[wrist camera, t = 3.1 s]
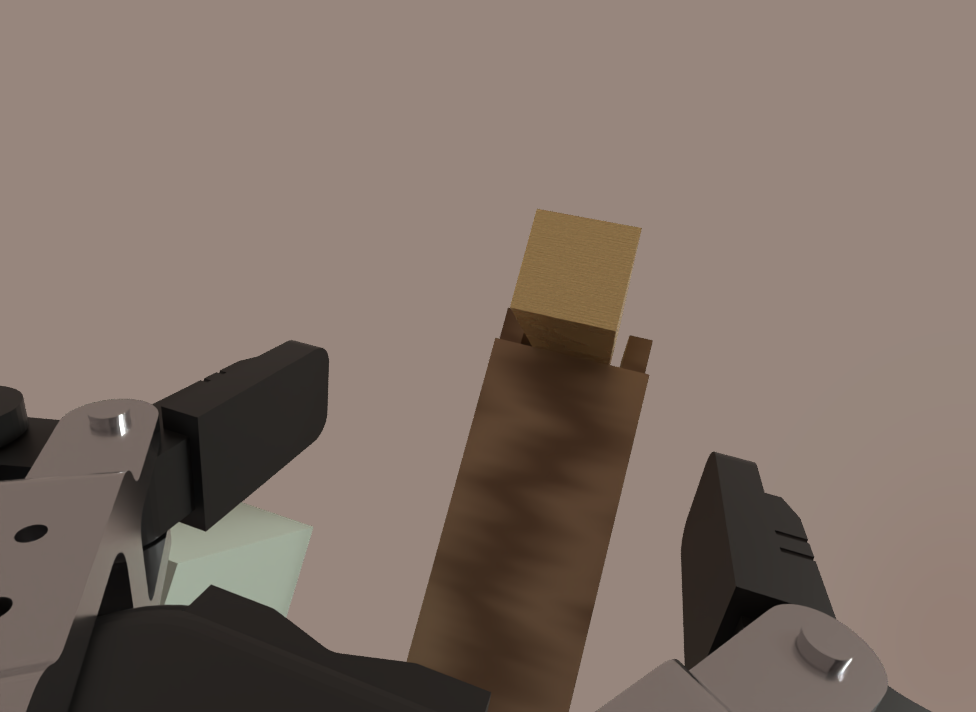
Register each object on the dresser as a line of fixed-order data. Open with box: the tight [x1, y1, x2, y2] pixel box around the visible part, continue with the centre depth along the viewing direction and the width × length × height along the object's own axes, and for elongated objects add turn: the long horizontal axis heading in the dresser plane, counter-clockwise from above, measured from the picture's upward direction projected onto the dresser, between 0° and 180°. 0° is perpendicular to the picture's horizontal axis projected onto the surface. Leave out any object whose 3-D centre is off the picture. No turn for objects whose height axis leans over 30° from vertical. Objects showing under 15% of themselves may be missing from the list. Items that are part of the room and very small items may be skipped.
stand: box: [407, 308, 652, 712], centre depth 27 cm, size 7×7×34 cm
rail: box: [510, 209, 642, 365], centre depth 26 cm, size 4×15×4 cm, turn 169°
